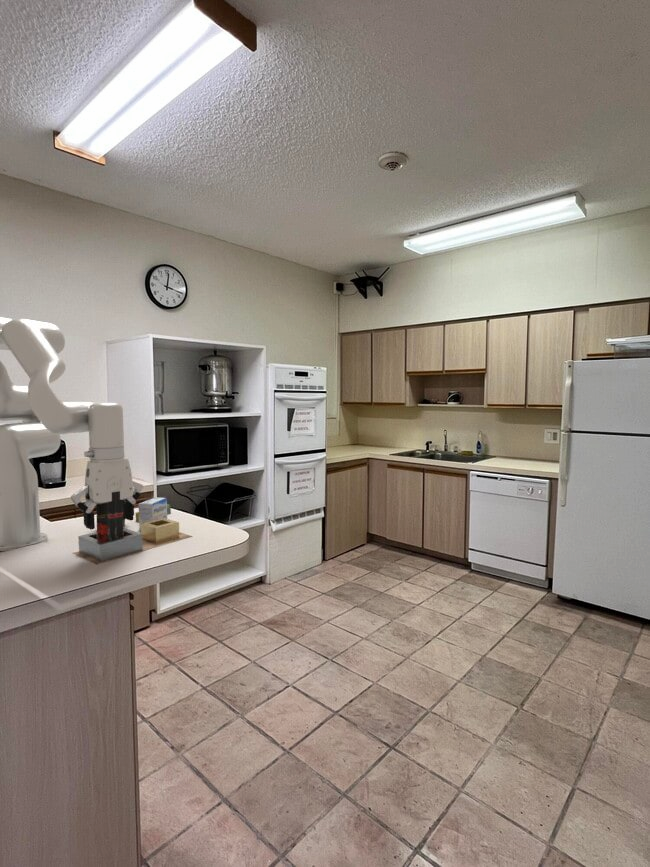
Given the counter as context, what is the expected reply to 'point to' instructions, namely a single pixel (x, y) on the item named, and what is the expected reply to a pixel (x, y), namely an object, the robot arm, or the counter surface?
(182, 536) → the fitting board
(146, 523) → the tan wooden open box
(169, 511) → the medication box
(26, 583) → the counter surface
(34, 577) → the counter surface
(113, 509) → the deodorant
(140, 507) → the medicine box
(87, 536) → the grey open tray
